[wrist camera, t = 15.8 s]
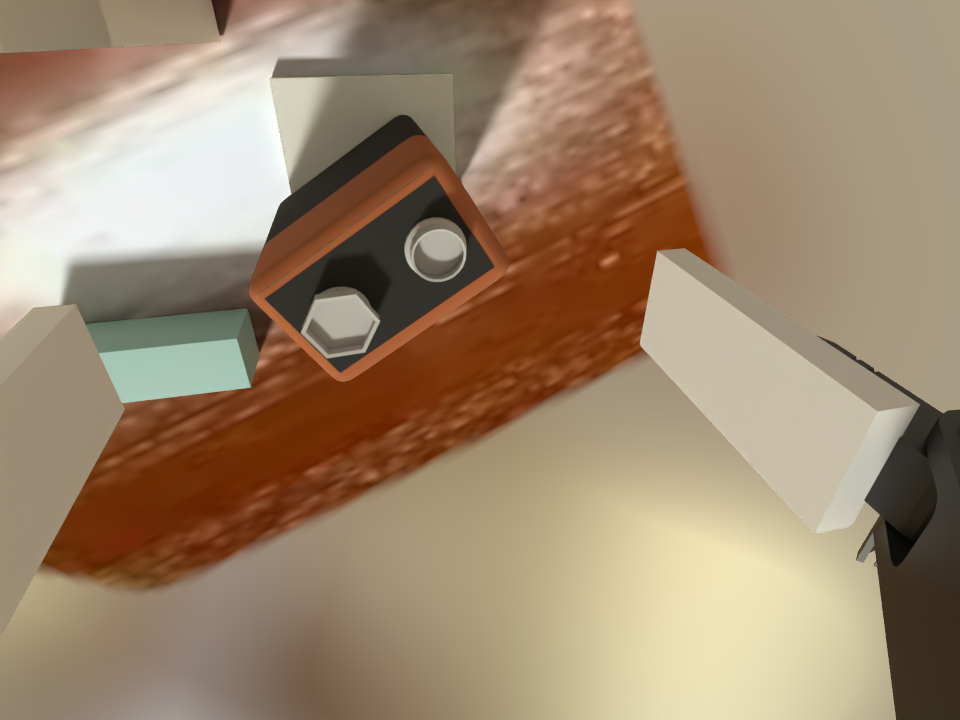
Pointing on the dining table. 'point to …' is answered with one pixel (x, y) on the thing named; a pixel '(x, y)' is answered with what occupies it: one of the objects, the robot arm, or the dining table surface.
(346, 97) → the mat
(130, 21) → the white u-shaped bracket
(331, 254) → the battery
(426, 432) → the dining table surface
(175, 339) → the block
